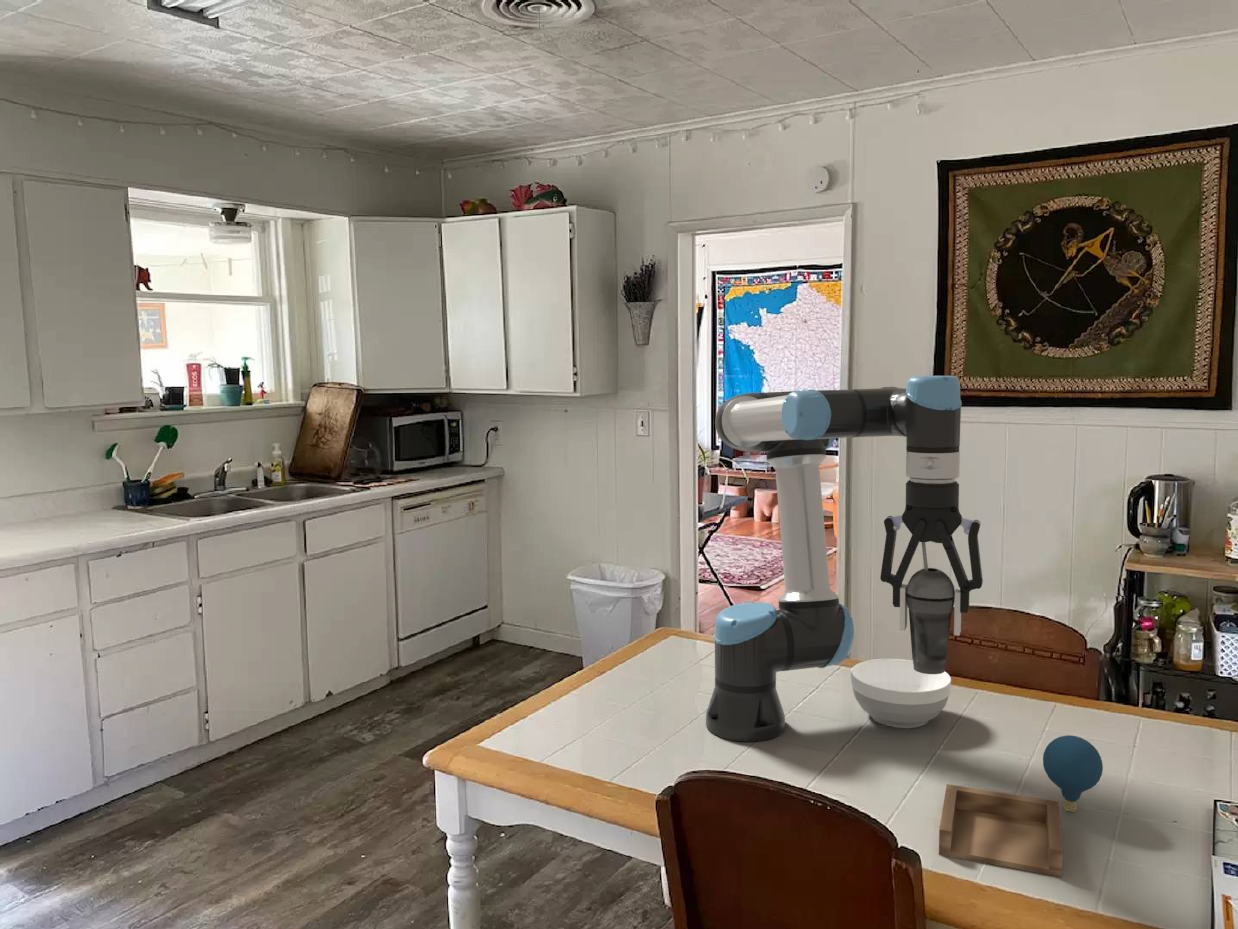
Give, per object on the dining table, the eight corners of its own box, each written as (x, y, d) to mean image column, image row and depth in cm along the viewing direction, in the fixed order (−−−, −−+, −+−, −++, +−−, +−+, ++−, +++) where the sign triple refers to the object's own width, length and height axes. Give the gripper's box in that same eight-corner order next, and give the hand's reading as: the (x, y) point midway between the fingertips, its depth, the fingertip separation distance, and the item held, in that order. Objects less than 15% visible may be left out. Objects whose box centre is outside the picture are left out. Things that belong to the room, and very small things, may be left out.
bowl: (842, 729, 179) (843, 685, 178) (857, 694, 196) (857, 654, 195) (947, 743, 172) (948, 697, 171) (952, 706, 189) (953, 664, 188)
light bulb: (1030, 799, 150) (1033, 728, 148) (1080, 797, 151) (1083, 725, 149) (1059, 826, 142) (1062, 750, 140) (1112, 823, 142) (1116, 747, 141)
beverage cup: (957, 678, 138) (960, 544, 135) (905, 676, 139) (907, 543, 137) (951, 663, 145) (954, 535, 143) (902, 660, 146) (904, 534, 144)
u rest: (938, 854, 134) (939, 829, 134) (946, 806, 148) (946, 784, 148) (1061, 877, 128) (1062, 851, 128) (1057, 825, 142) (1058, 801, 141)
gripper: (859, 480, 140) (858, 630, 142) (1004, 485, 131) (1000, 644, 134) (867, 474, 146) (866, 618, 149) (1006, 478, 138) (1002, 630, 141)
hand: (930, 630), depth 141 cm, fingers closed on beverage cup, 7 cm apart
